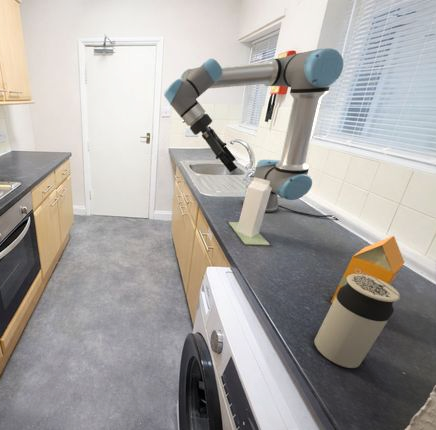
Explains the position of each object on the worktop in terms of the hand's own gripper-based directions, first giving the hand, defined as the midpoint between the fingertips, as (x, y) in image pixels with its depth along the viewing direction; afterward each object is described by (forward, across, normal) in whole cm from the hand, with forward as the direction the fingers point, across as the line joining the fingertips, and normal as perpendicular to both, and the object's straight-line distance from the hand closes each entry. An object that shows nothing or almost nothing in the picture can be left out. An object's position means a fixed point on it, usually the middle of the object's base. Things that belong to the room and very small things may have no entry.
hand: (233, 165), depth 97 cm
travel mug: (+36, +51, -1) cm, 63 cm away
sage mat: (+26, 0, -11) cm, 28 cm away
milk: (+26, 0, -11) cm, 28 cm away
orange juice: (+43, +32, +5) cm, 54 cm away
